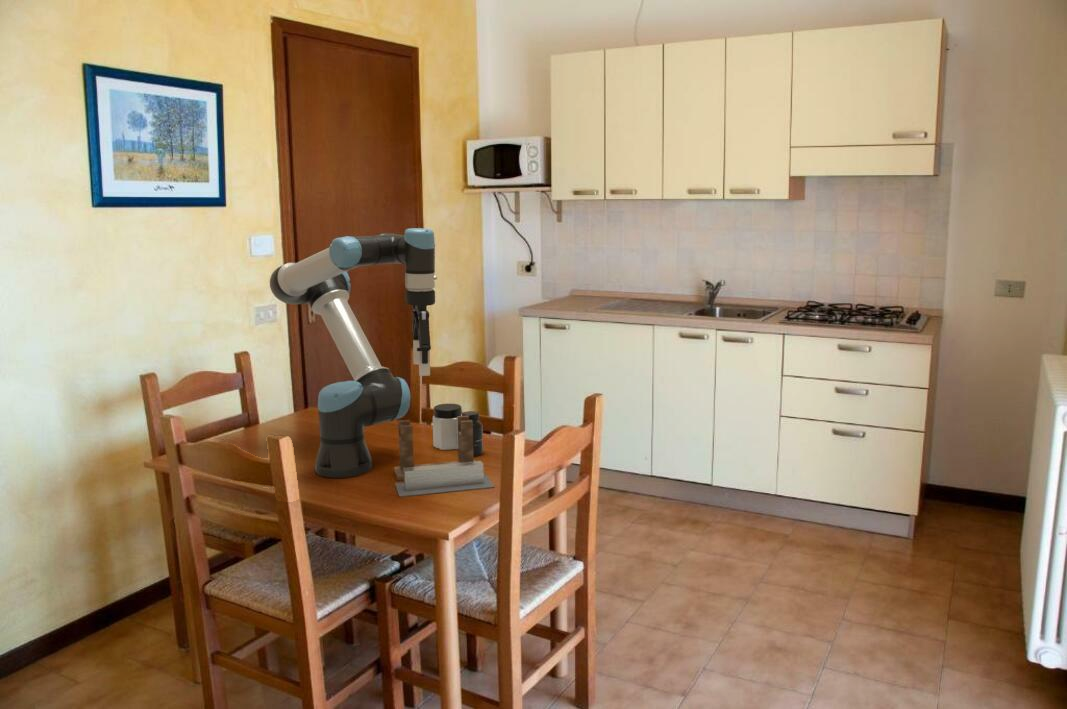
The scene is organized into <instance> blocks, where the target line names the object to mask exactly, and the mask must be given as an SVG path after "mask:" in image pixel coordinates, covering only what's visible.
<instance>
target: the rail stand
mask: <svg viewBox="0 0 1067 709" xmlns="http://www.w3.org/2000/svg"><path fill="white" fill-rule="evenodd" d="M397 425H398V426H397V428H398V450H399V451H398V453H399V455H398V456H399V466H394V467H393V470H394V474H395V476H396V480H398V481H401V480H403V481H404V468H408V467H418V466H429V465H440V464H451V463H462V462H473V461H475V459H474V456H473V421H472V420H469V416H457V425H458V449H457V451H458V452H457V453H458V454H457V460H456V461H446V462H445V461H444V462H434V463H422V464H414V463H415V462H414V460H415V459H414V458H415V457H414V436H413V425H412V424H411V421H410V419H407V420H398V421H397Z"/></svg>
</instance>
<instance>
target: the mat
mask: <svg viewBox="0 0 1067 709" xmlns="http://www.w3.org/2000/svg"><path fill="white" fill-rule="evenodd" d="M394 485H395V488H396V492H397V494H398V497H399V498H405V497H406V498H407V497H416V496H424V495H437V494H445V493H455V492H465V491H474V490H477V491H478V490H486V489H494V488H495V486H494V484H493V483H492V481H491V480H490V478H489V477H488V475H487V474H486V473H484V483H477V484H467V485H457V486H447V487H437V488H427V489H416V490H405V487H404V481H400V482H394Z"/></svg>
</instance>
